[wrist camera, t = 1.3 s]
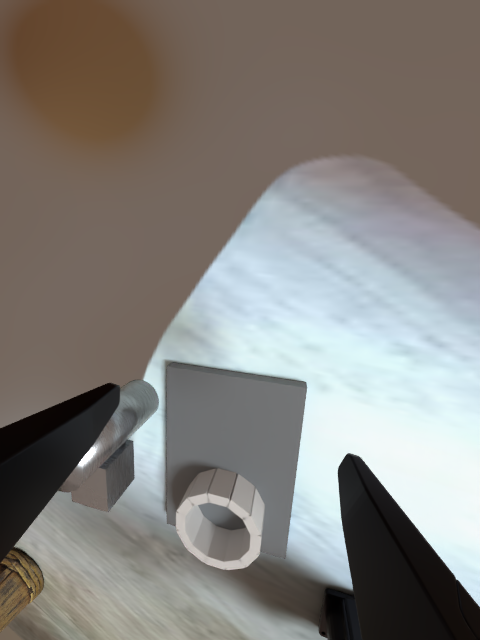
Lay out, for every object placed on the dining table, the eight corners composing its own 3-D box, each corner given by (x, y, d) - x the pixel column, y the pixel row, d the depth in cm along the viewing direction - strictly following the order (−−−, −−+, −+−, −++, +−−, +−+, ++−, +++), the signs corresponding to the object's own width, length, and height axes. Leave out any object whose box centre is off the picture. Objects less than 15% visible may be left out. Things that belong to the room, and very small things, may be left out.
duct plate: (285, 546, 26) (284, 595, 22) (171, 513, 29) (152, 551, 25) (306, 382, 22) (309, 405, 18) (172, 362, 25) (149, 378, 21)
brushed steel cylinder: (122, 376, 27) (29, 432, 17) (158, 383, 26) (81, 445, 17) (125, 443, 29) (41, 527, 19) (159, 451, 28) (89, 543, 18)
